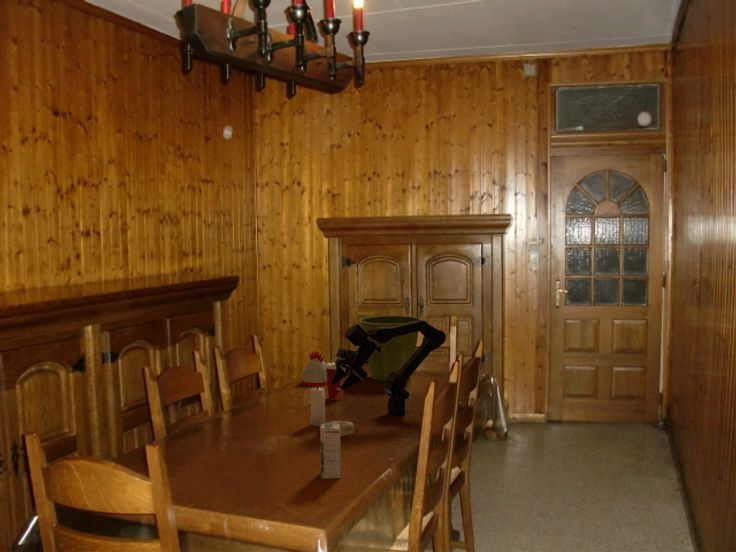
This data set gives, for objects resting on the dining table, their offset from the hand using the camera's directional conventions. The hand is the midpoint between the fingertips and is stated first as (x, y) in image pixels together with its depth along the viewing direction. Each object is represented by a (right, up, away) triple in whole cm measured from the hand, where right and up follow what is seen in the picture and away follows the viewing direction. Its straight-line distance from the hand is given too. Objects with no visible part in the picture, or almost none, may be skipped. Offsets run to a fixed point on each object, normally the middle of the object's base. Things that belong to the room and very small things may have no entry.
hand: (336, 386), depth 253 cm
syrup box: (+1, -17, -56) cm, 59 cm away
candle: (-7, -14, -3) cm, 15 cm away
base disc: (+1, -14, -12) cm, 19 cm away
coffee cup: (-2, -11, +37) cm, 39 cm away
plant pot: (+23, -9, +77) cm, 81 cm away
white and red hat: (-12, -10, +69) cm, 71 cm away
